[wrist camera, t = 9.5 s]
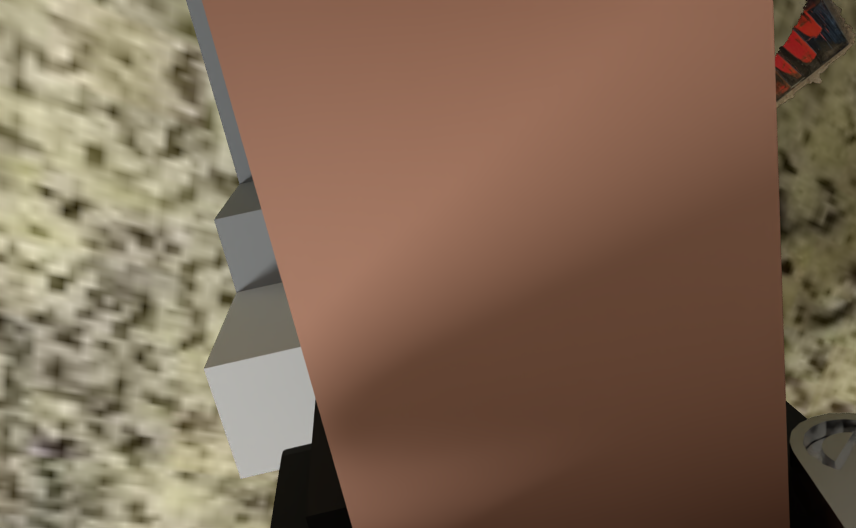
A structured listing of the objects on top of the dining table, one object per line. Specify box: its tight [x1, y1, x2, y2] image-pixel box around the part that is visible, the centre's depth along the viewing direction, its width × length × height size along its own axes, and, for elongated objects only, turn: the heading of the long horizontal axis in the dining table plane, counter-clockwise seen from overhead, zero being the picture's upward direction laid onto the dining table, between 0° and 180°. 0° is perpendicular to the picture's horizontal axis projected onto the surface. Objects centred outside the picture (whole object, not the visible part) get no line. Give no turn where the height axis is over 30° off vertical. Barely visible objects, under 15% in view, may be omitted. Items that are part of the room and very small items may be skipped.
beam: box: [202, 0, 790, 528], centre depth 10 cm, size 22×4×6 cm, turn 11°
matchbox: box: [775, 0, 855, 108], centre depth 22 cm, size 5×5×1 cm
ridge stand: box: [186, 0, 315, 478], centre depth 18 cm, size 20×10×10 cm, turn 11°
